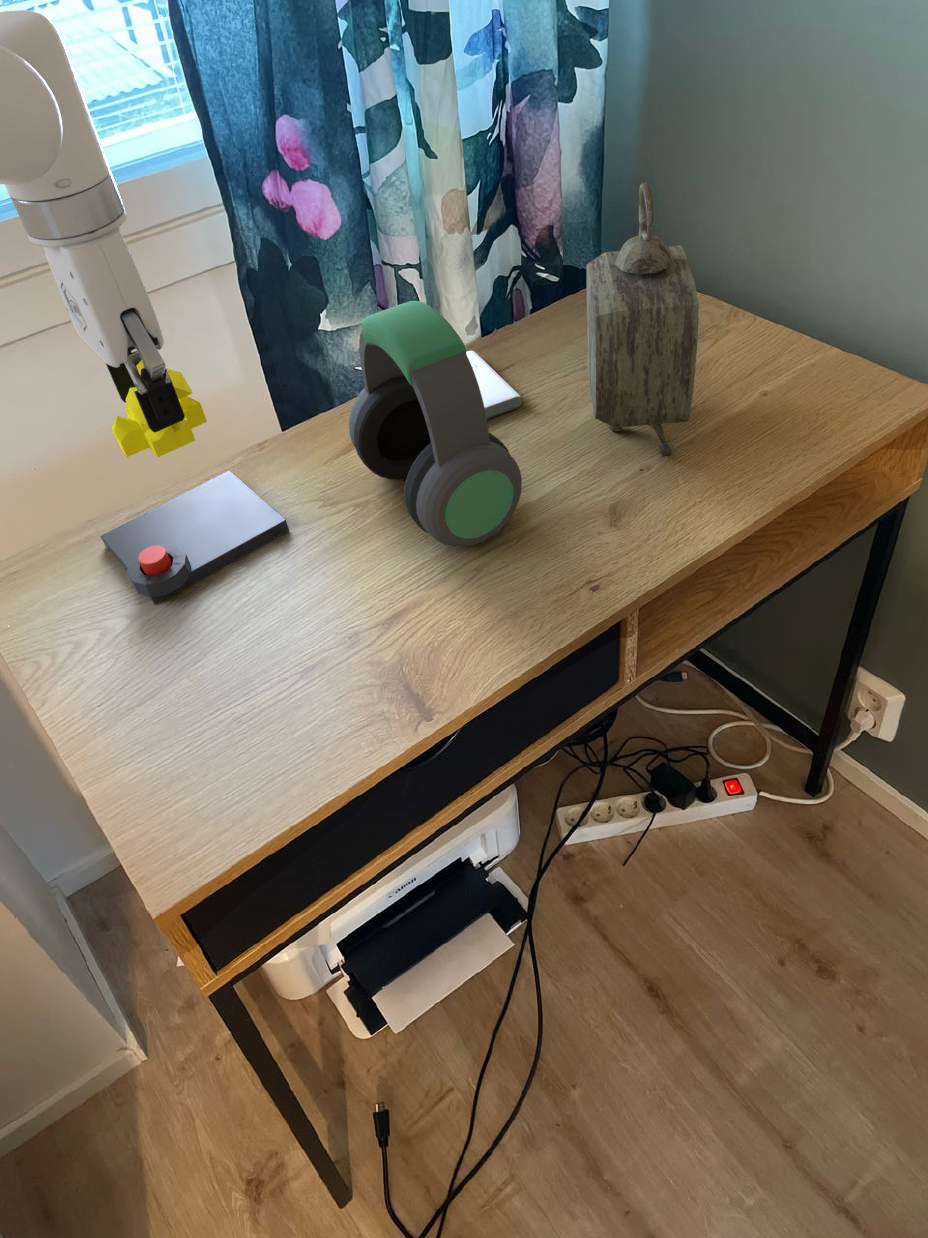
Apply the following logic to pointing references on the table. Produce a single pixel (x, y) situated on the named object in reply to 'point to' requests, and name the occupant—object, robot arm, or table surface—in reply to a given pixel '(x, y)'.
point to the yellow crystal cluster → (139, 436)
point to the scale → (195, 534)
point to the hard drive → (493, 388)
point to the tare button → (154, 560)
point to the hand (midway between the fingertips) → (152, 408)
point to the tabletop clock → (642, 331)
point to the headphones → (431, 426)
